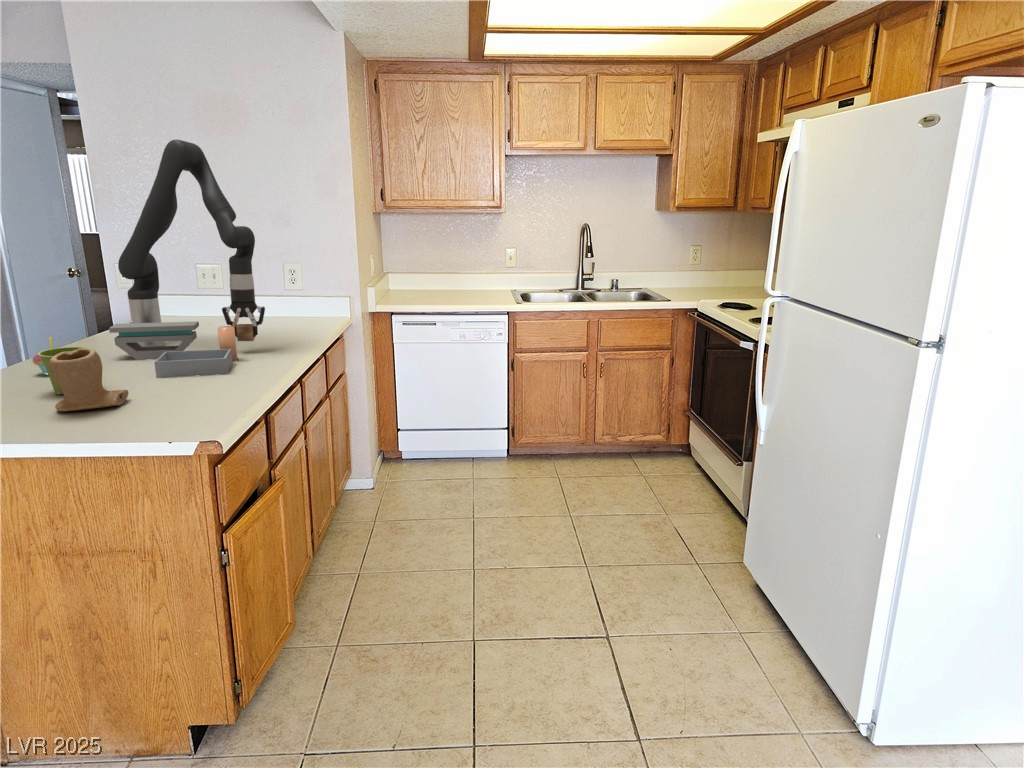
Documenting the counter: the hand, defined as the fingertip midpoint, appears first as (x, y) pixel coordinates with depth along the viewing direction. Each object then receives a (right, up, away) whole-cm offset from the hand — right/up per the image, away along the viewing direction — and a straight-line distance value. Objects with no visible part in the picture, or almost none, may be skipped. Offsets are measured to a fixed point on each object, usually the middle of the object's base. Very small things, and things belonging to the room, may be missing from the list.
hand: (245, 336), depth 223 cm
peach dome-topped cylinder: (-1, -9, -10) cm, 13 cm away
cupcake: (-46, -13, -29) cm, 56 cm away
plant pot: (-28, -19, -47) cm, 58 cm away
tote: (-6, -12, -23) cm, 27 cm away
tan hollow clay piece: (-13, -23, -61) cm, 67 cm away
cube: (0, -1, 0) cm, 1 cm away
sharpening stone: (-27, -7, -6) cm, 28 cm away
